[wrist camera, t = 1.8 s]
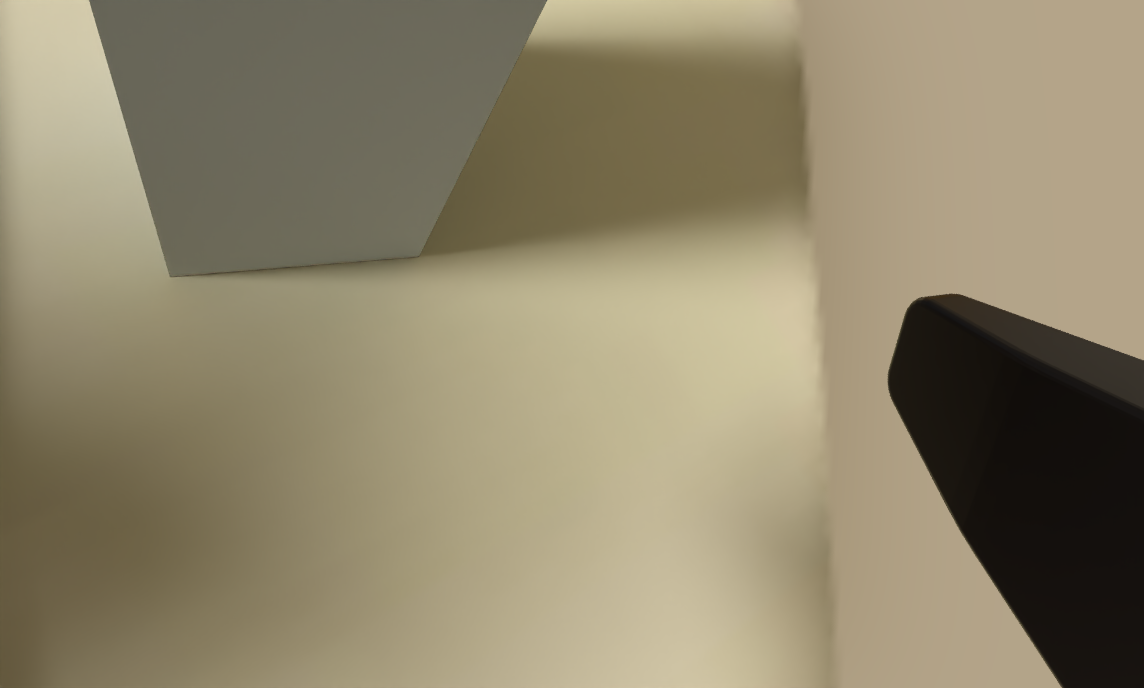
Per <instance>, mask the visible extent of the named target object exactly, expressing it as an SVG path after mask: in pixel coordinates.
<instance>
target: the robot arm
mask: <svg viewBox="0 0 1144 688" xmlns="http://www.w3.org/2000/svg"><path fill="white" fill-rule="evenodd" d="M888 388H889V393H890V396H891V399H892V401H893V403H894V405H895V407H896V409H897V411H898V413H899V415H900V417H901V419H902V421H903V423H904V425H905V427H906V429H907V431H908V432H909V434H910V436H911V438H912V440H913V442H914V444H915V446H916V448H917V450H918V452H919V454H920V456H921V458H922V459H923V461H924V463H925V465H926V467H927V469H928V471H929V473H930V475H931V477H932V479H933V481H934V483H935V485H936V486H937V488H938V490H939V492H940V494H941V496H942V498H943V500H944V502H945V504H946V506H947V508H948V510H949V512H950V513H951V515H952V517H953V519H954V520H955V522H956V524H957V526H958V528H959V530H960V531H961V533H962V535H963V536H964V538H965V540H966V541H967V543H968V544H969V546H970V548H971V549H972V551H973V552H974V554H975V556H976V557H977V559H978V560H979V562H980V563H981V565H982V566H983V568H984V569H985V571H986V572H987V574H988V576H989V577H990V578H991V580H992V582H993V583H994V585H995V586H996V588H997V589H998V591H999V592H1000V594H1001V595H1002V597H1003V598H1004V600H1005V601H1006V603H1007V605H1008V606H1009V608H1010V609H1011V611H1012V612H1013V614H1014V615H1015V617H1016V618H1017V620H1018V621H1019V623H1020V624H1021V626H1022V628H1023V629H1024V630H1025V632H1026V633H1027V635H1028V637H1029V638H1030V640H1031V641H1032V642H1033V644H1034V646H1035V647H1036V649H1037V650H1038V652H1039V653H1040V655H1041V657H1042V658H1043V660H1044V661H1045V663H1046V664H1047V666H1048V667H1049V669H1050V670H1051V672H1052V673H1053V675H1054V676H1055V678H1056V679H1057V681H1058V683H1059V684H1060V686H1061V687H1062V688H1144V360H1141V359H1138V358H1135V357H1133V356H1130V355H1127V354H1124V353H1121V352H1119V351H1115V350H1113V349H1110V348H1108V347H1105V346H1102V345H1099V344H1096V343H1094V342H1091V341H1088V340H1085V339H1083V338H1080V337H1077V336H1074V335H1071V334H1069V333H1066V332H1063V331H1060V330H1057V329H1055V328H1052V327H1049V326H1046V325H1043V324H1041V323H1038V322H1035V321H1033V320H1030V319H1027V318H1024V317H1021V316H1019V315H1016V314H1013V313H1010V312H1008V311H1005V310H1002V309H999V308H997V307H994V306H991V305H988V304H985V303H983V302H980V301H977V300H974V299H972V298H968V297H966V296H963V295H959V294H945V295H936V296H928V297H921V298H918V299H916V300H915V301H913V302H912V303H911V305H910V306H909V307H908V309H907V311H906V313H905V316H904V319H903V323H902V327H901V330H900V333H899V337H898V340H897V343H896V347H895V350H894V354H893V357H892V360H891V364H890V367H889V371H888Z"/></svg>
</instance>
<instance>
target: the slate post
mask: <svg viewBox="0 0 1144 688" xmlns="http://www.w3.org/2000/svg"><path fill="white" fill-rule="evenodd" d="M89 1H90V5H91V8H92V12H93V15H94V18H95V22H96V25H97V29H98V32H99V36H100V39H101V42H102V46H103V49H104V53H105V56H106V59H107V63H108V66H109V70H110V73H111V77H112V80H113V83H114V87H115V90H116V94H117V97H118V100H119V104H120V107H121V111H122V114H123V118H124V121H125V124H126V128H127V131H128V135H129V138H130V141H131V145H132V148H133V152H134V155H135V159H136V162H137V165H138V169H139V172H140V176H141V179H142V182H143V186H144V189H145V193H146V196H147V200H148V203H149V206H150V210H151V213H152V217H153V220H154V224H155V227H156V230H157V234H158V237H159V241H160V244H161V247H162V251H163V254H164V258H165V261H166V265H167V268H168V271H169V275H170V277H173V276H185V275H197V274H210V273H222V272H235V271H247V270H260V269H272V268H285V267H297V266H309V265H322V264H334V263H347V262H359V261H372V260H384V259H396V258H409V257H419V256H420V254H421V252H422V250H423V248H424V246H425V244H426V242H427V240H428V238H429V236H430V234H431V232H432V230H433V228H434V226H435V224H436V222H437V220H438V218H439V216H440V214H441V212H442V210H443V208H444V206H445V204H446V202H447V200H448V198H449V196H450V194H451V192H452V190H453V188H454V186H455V184H456V182H457V180H458V178H459V176H460V174H461V172H462V170H463V168H464V166H465V164H466V162H467V160H468V158H469V156H470V154H471V152H472V150H473V148H474V146H475V144H476V142H477V140H478V138H479V136H480V134H481V132H482V130H483V128H484V126H485V124H486V122H487V120H488V118H489V116H490V114H491V112H492V110H493V108H494V106H495V104H496V102H497V100H498V98H499V96H500V94H501V92H502V90H503V88H504V86H505V84H506V82H507V80H508V78H509V76H510V74H511V72H512V70H513V68H514V66H515V64H516V62H517V60H518V58H519V56H520V54H521V52H522V50H523V48H524V46H525V44H526V42H527V40H528V38H529V36H530V34H531V32H532V30H533V28H534V26H535V24H536V22H537V20H538V18H539V16H540V14H541V12H542V10H543V8H544V6H545V4H546V2H547V0H89Z"/></svg>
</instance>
